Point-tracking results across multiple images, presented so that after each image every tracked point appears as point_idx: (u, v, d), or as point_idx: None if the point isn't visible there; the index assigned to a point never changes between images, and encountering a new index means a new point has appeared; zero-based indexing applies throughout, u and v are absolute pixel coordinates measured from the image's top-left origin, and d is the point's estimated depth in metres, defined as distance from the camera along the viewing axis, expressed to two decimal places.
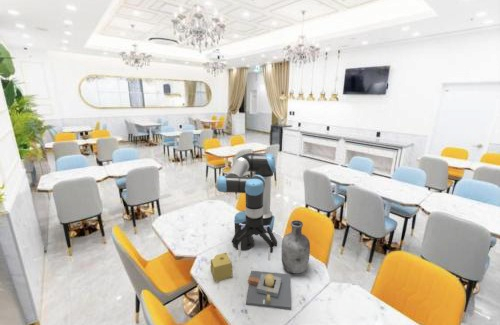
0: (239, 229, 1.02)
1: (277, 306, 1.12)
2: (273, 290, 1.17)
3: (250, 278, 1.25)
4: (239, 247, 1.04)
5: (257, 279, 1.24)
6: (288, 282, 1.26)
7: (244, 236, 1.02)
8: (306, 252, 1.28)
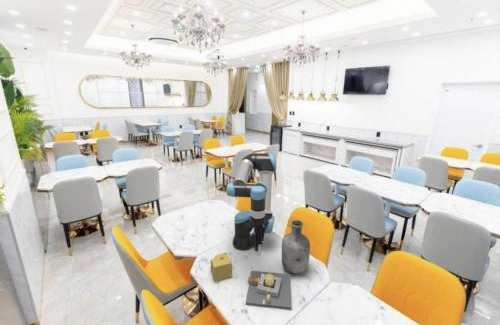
0: None
1: (277, 306, 1.12)
2: (273, 290, 1.17)
3: (250, 278, 1.25)
4: None
5: (257, 279, 1.24)
6: (288, 282, 1.26)
7: None
8: (306, 252, 1.28)
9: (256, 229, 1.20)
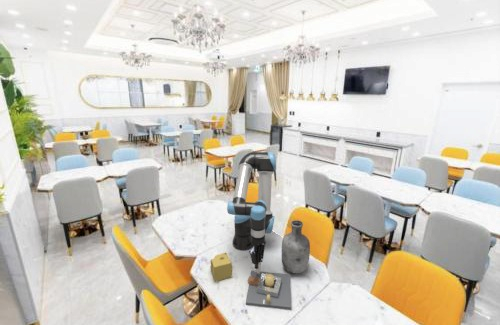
0: None
1: (277, 306, 1.12)
2: (273, 290, 1.17)
3: (250, 278, 1.25)
4: None
5: (257, 279, 1.24)
6: (288, 282, 1.26)
7: None
8: (306, 252, 1.28)
9: (256, 248, 1.23)
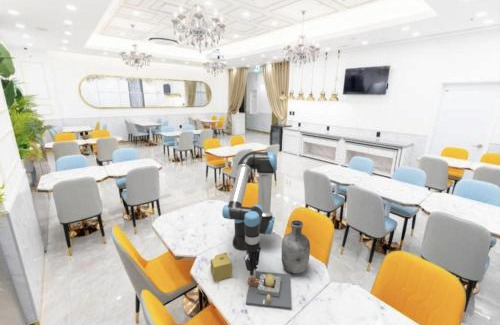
0: None
1: (277, 306, 1.12)
2: (274, 290, 1.17)
3: (249, 279, 1.24)
4: None
5: (257, 280, 1.24)
6: (288, 282, 1.26)
7: None
8: (306, 252, 1.28)
9: (250, 255, 1.19)
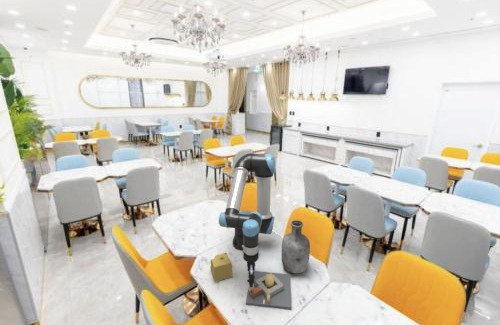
0: None
1: (277, 306, 1.12)
2: (279, 285, 1.20)
3: (252, 291, 1.16)
4: (248, 281, 1.18)
5: (258, 287, 1.19)
6: (288, 282, 1.26)
7: None
8: (306, 252, 1.28)
9: None
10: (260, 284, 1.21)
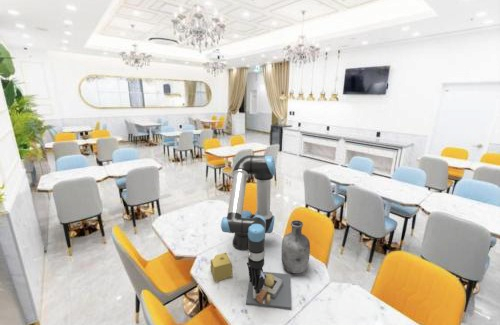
0: (248, 267, 1.15)
1: (277, 306, 1.12)
2: (279, 282, 1.22)
3: (260, 297, 1.13)
4: (253, 289, 1.13)
5: (262, 291, 1.17)
6: (288, 282, 1.26)
7: (252, 276, 1.12)
8: (306, 252, 1.28)
9: None
10: None
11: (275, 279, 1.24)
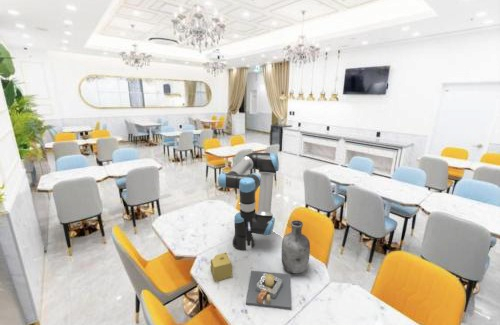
0: None
1: (277, 306, 1.12)
2: (279, 282, 1.22)
3: (260, 297, 1.13)
4: (245, 240, 1.20)
5: (263, 291, 1.17)
6: (288, 282, 1.26)
7: None
8: (306, 252, 1.28)
9: (250, 222, 1.14)
10: (262, 287, 1.19)
11: (275, 279, 1.24)
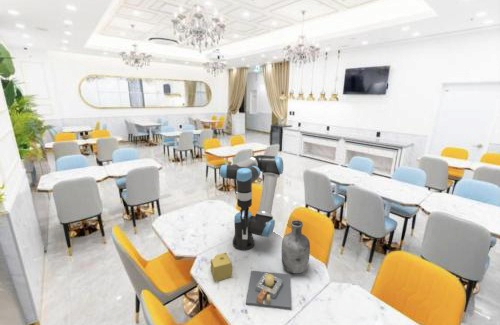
0: None
1: (277, 306, 1.12)
2: (279, 282, 1.22)
3: (260, 297, 1.13)
4: (242, 229, 1.25)
5: (263, 291, 1.17)
6: (288, 282, 1.26)
7: None
8: (306, 252, 1.28)
9: (245, 212, 1.19)
10: (262, 287, 1.19)
11: (275, 279, 1.24)
